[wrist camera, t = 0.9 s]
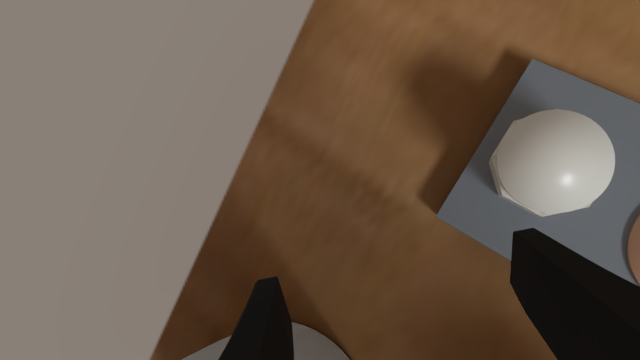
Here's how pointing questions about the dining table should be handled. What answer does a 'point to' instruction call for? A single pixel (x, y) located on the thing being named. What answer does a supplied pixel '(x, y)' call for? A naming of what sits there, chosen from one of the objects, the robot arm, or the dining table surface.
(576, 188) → the cap
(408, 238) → the dining table surface
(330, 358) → the utensil holder
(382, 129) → the dining table surface
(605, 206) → the post board
